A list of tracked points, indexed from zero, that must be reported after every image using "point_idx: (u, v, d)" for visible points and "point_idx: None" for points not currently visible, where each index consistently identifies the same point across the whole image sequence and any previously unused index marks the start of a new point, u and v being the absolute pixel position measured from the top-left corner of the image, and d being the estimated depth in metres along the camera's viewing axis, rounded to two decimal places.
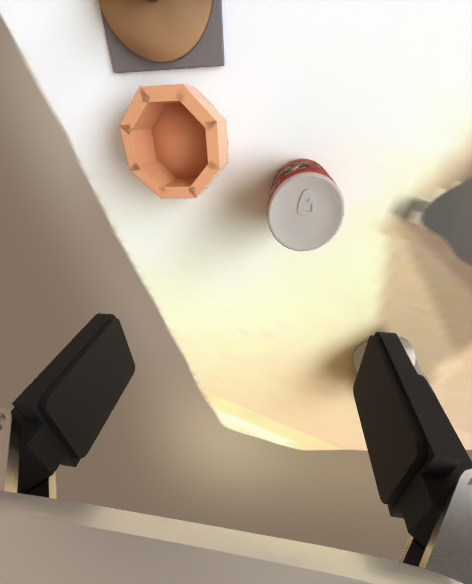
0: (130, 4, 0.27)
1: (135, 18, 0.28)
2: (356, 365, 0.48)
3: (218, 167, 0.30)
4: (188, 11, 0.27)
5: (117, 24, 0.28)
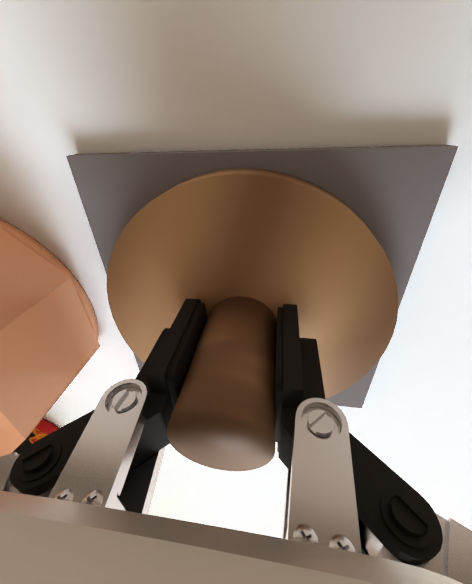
0: (202, 271, 0.10)
1: (177, 277, 0.11)
2: None
3: None
4: None
5: (159, 225, 0.09)
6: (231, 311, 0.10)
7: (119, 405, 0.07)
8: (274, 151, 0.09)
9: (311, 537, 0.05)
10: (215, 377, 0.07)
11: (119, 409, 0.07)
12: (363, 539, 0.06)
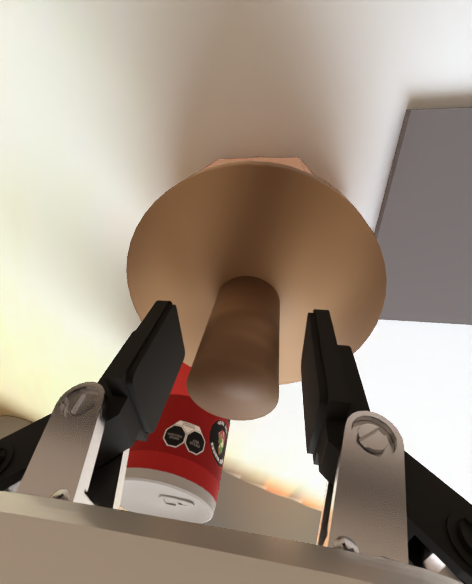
0: (213, 253, 0.12)
1: (190, 258, 0.12)
2: None
3: None
4: None
5: (176, 211, 0.11)
6: (239, 287, 0.11)
7: (76, 409, 0.07)
8: None
9: (353, 551, 0.04)
10: (228, 337, 0.09)
11: (77, 412, 0.07)
12: (421, 562, 0.06)
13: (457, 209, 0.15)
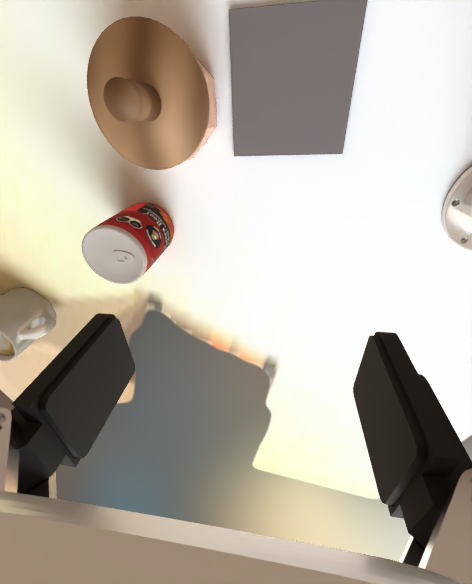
0: (125, 70, 0.25)
1: (116, 74, 0.25)
2: (9, 294, 0.50)
3: None
4: (132, 143, 0.28)
5: (106, 45, 0.24)
6: None
7: None
8: (307, 2, 0.25)
9: None
10: None
11: None
12: None
13: (266, 70, 0.28)
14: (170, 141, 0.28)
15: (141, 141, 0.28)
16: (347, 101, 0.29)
